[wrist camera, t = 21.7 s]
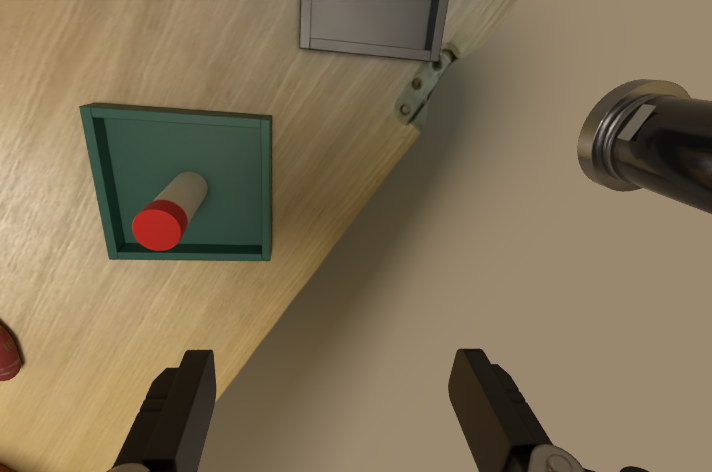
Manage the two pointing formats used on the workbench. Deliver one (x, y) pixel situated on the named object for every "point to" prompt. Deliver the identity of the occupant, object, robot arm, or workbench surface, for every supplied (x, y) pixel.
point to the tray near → (374, 27)
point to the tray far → (176, 155)
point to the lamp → (4, 469)
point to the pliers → (8, 356)
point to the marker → (170, 212)
